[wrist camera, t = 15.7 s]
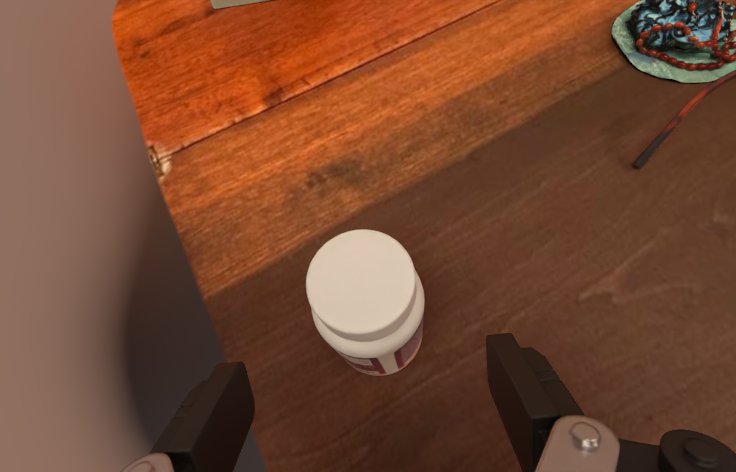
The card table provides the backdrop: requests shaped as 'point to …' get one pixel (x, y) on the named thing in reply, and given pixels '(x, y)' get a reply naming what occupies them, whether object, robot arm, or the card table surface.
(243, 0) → the scale
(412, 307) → the pill bottle
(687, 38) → the dish
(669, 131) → the sunglasses
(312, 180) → the card table surface
